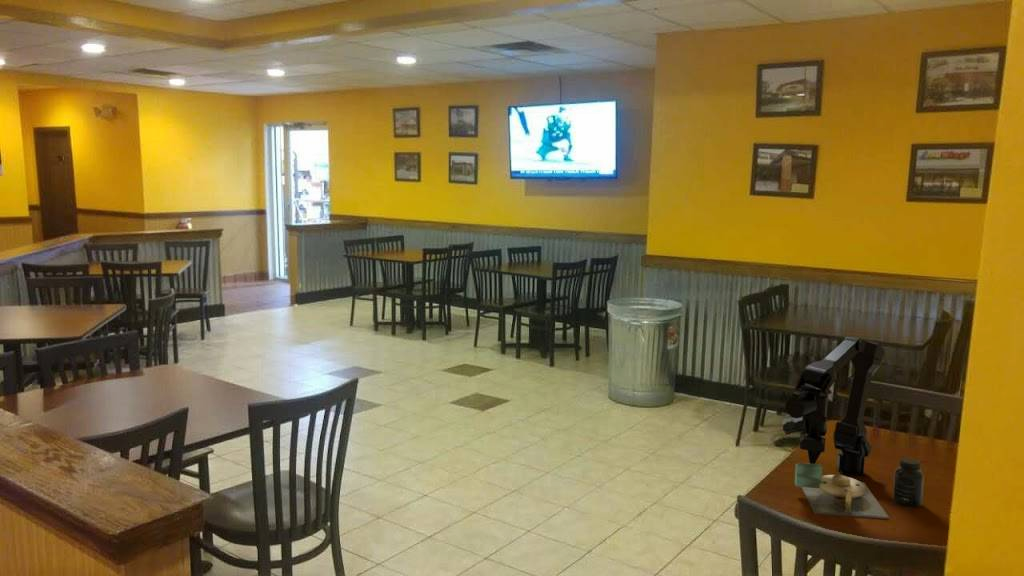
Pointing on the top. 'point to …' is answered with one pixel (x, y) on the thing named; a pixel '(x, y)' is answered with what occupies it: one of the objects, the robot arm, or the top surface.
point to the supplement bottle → (908, 483)
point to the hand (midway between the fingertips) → (812, 464)
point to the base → (844, 504)
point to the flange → (826, 481)
